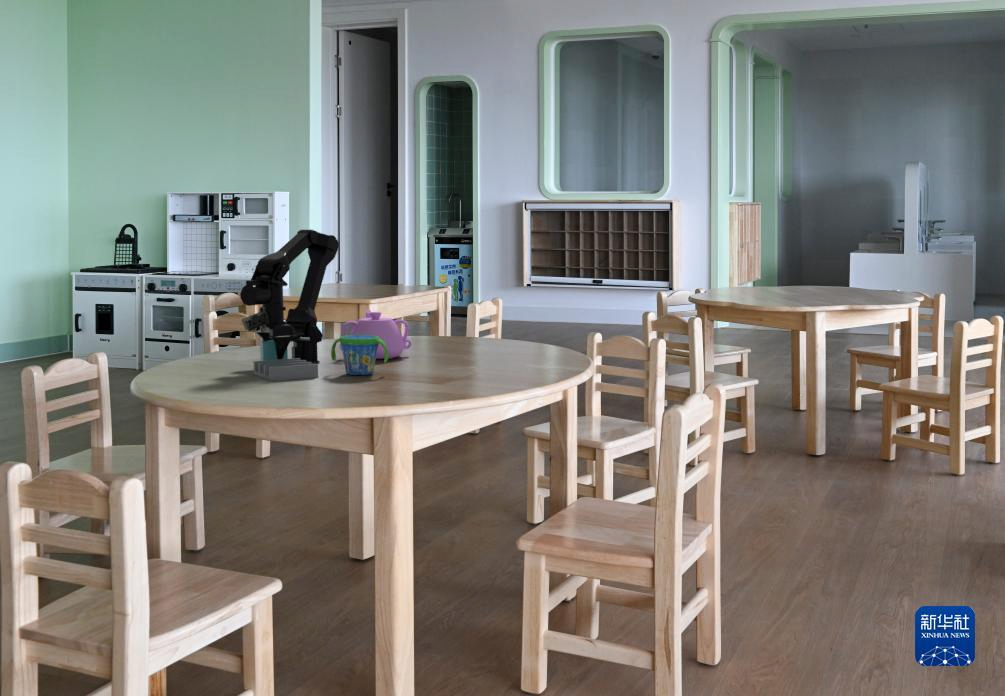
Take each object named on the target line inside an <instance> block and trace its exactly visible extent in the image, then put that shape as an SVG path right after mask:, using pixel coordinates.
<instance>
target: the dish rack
mask: <svg viewBox="0 0 1005 696" xmlns="http://www.w3.org/2000/svg"><path fill="white" fill-rule="evenodd" d="M252 363H253V375H255V376H258V377H260V378H261V379H262V378H263V379H265V380H267V381H270V382H275V381H278V382H279V381H289V380H302V379H313V378H314V379H316V378H319V363H312V362H306V360H301V358H293V359H292V358H288V359H279V360H264V361H261V360H254V361H252Z"/></svg>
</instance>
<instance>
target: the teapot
mask: <svg viewBox="0 0 1005 696" xmlns="http://www.w3.org/2000/svg"><path fill="white" fill-rule="evenodd" d="M381 315H382V312H381V311H371V310H370V309H366V310H365V317H364V318H359V319H358V320H357V321H355V320H350V321H349V320H348V321H347V322H345V323H344V324H343V325H342V327H341V328H342V329H341V332H342V336H347V335H348V334H347V327H348V326H350V325H351V326H352V325H353V327H352V329H351V331H350V332H349V333H350V334H349V335H373V336H378V337H379V339H381V340H383V341H384V342H385V344H386V346H387V349H388V360H392V359H393V358H397V357H399V356H400V355H401V354H402V353H403V351H404V349H405V350H408V349H411V347H412V343H413V342H412V341H411V339H407V338H408V335H409V330H410V326H409V324H408V322H407V321H406V320H403V319H400V318H399V319H395V320H394V319H392V318H389V317H381ZM397 324H403V325H404V333H403V334H402V331H401V330H400V328H399V326H398V325H397ZM406 343H408V344H406ZM339 349H340V351H342V345H341V343H340V342H339ZM384 358H385V350H384V348H383V346H382V345H381V343H380V342H379V344H378V348H377V353H376V359H384ZM376 359H375V360H376Z"/></svg>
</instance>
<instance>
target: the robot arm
mask: <svg viewBox="0 0 1005 696" xmlns="http://www.w3.org/2000/svg"><path fill="white" fill-rule="evenodd" d="M339 245H340V242H339V240H338V239H337V238H336V236H335V235H333V234H332V235H331V234H326V233H322V232H318V231H317V230H314V229H299V230H298V231H297V233H296V234H295V235H294V236H293V237H292V238H291V239H290V240H289V241H288V242H287V243H285V244H283V246H282V247H281V248H280V249H279V250H277V251H275V252H273V253H270V254H266V255H265V256H263V257H261V258H260V259H259V260H258V262H257V265H256V266H255V269H254V272H253V274H252V276H251V279H250V280H249V279H248V280H246V281H245V285H243V286H242V289H241V291H240V293H239V295H240V299H241V301H242V303H243V304H244V305H246V306H250V307H252V306H259V305H262V306H260V307H259V309H258V312H256V313H253V314H251V315H249V316H247V317H244V318H242V319H241V323H242V325H243V328H244V330H245V331H248V332H252V331H254V333H255V335H257V336H259V338H260V339H261V341H269V340H273V341H274V344H275V349H276V355H277V360H279V359H283V356H284V354H285V352H286V349H287V350H288V348H289V345H290V343H291V342H293V343H292V344H293V346H291V359H293V358H301V360H306V362H312V364H319V363H321V362H320V360H319V359H318V343H320V342H321V343H322V339H323V333H322V331H321V330H320V329H319V327H318V325H317V323H318V318H317V314H316V312H315V310H316V305H317V302H318V298H319V294H320V292H321V288H322V283H323V280H324V278H325V274H326V270H327V266H328V265H329V264H330V263H331V262H332V261H333V260H335V258H336V255H337V253H338V250H339V247H340V246H339ZM305 250H307V254H308V257H309V264H308V268H307V271H306V275H305V279H304V283H303V286H302V289H301V294H300V297H299V299H298V303H297V306H296V307H295V308H289V310H288V311H287V316H286V319H285V317H284V313H285V312H284V311H286V309H287V307H286V306H284V288H283V287H287V286H288V284H289V283H287V282H286V281H285V280H284V279H283V278H284V277H285V276H286V275H287V274H288V272H289V271H290V268H291V264H292V262H294V261H295V260H296V259H297V258H298V257H299V256H300V255H301V254H302V253H304V251H305Z"/></svg>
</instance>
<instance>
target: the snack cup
mask: <svg viewBox="0 0 1005 696" xmlns="http://www.w3.org/2000/svg"><path fill="white" fill-rule="evenodd" d="M346 335H347V336H343V335H342V336H340V337H339V338H337V339H336V340H335V341H334V342H333V344H332V346H331V351H330V356H331V360H332V362H333V361H334V362H335V361H336V360H337V355H336V346H337V344H338V343H339V344H340V343H341V345H342V350H341V351H342V355H343V356H342V357H343V363H344V370H345V373H346V374H347V375H350V376H368V375H369V376H370V375H373V373H374V370H375V367H376V366H375V365H376V353H377V348H378V344H379V342H380V343H381V345H382V346H383V348H384V350H385V358H383V359H384V360H383V363H387V362H388V360H389V359H388V349H387V346H386V344H385V342H384V341H383V340H381V339H379V337H378V336H373V335H350V334H346Z"/></svg>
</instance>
